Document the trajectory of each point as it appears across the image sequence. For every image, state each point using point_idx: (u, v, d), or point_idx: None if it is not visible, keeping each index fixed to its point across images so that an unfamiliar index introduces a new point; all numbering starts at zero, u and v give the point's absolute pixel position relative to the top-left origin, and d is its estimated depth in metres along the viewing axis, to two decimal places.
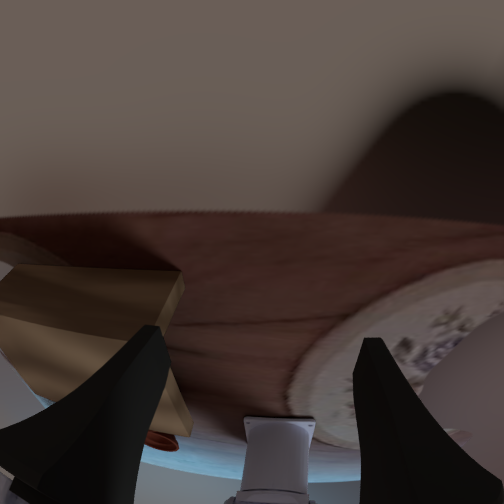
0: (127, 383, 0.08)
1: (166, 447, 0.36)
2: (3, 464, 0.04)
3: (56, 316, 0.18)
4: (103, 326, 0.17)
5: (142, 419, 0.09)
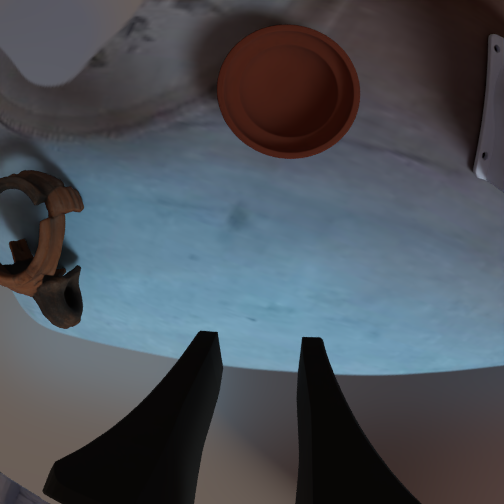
0: (193, 395, 0.08)
1: (301, 146, 0.14)
2: None
3: None
4: None
5: (201, 430, 0.09)
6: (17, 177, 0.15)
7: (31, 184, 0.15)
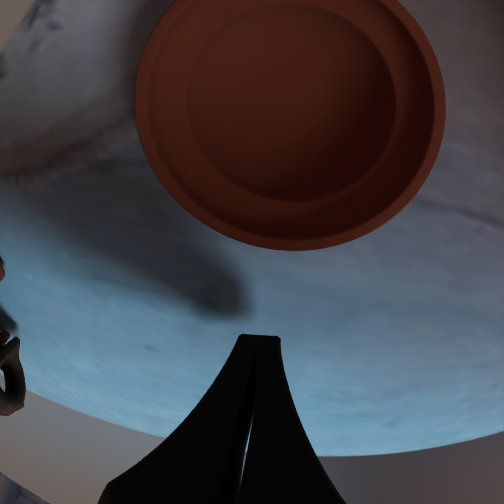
0: (244, 401, 0.08)
1: (315, 222, 0.07)
2: None
3: None
4: None
5: (245, 436, 0.09)
6: None
7: None
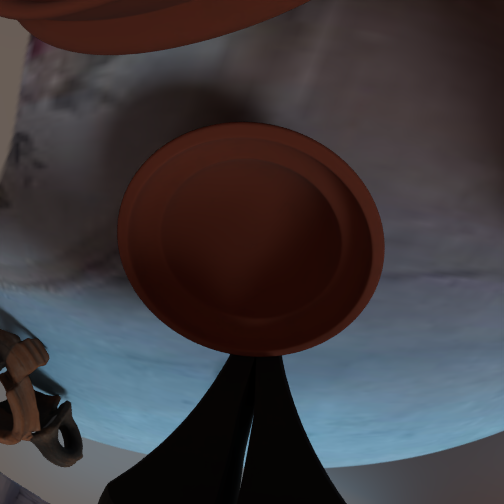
0: (244, 401, 0.08)
1: (287, 332, 0.09)
2: None
3: None
4: None
5: (245, 436, 0.09)
6: None
7: None
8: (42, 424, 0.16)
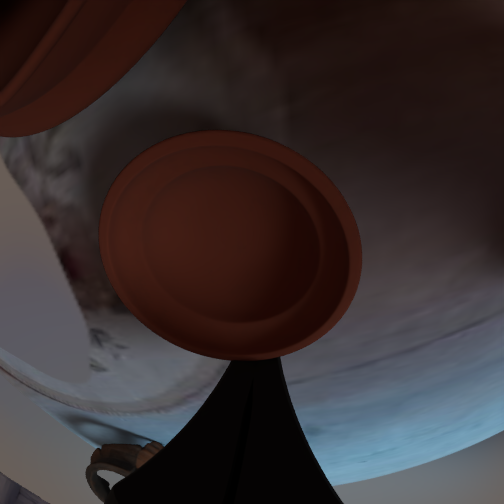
0: (249, 401, 0.08)
1: (298, 325, 0.08)
2: None
3: None
4: None
5: None
6: (103, 463, 0.18)
7: (117, 467, 0.17)
8: None
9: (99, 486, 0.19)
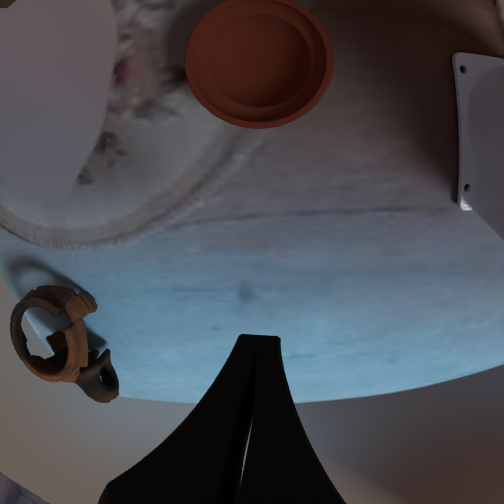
0: (244, 401, 0.08)
1: (284, 112, 0.13)
2: None
3: None
4: None
5: (245, 436, 0.09)
6: (35, 298, 0.20)
7: (48, 302, 0.20)
8: None
9: (19, 332, 0.20)
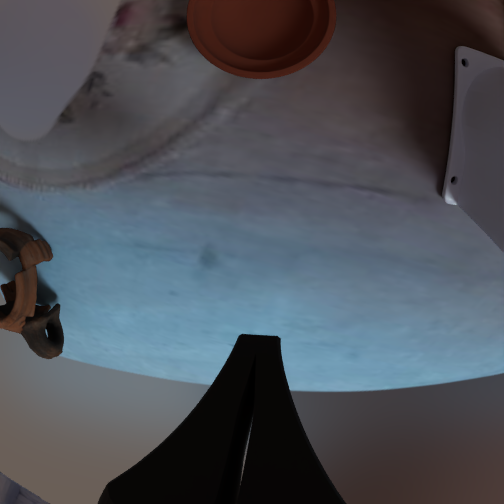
0: (244, 401, 0.08)
1: (278, 67, 0.12)
2: None
3: None
4: None
5: (245, 436, 0.09)
6: None
7: (4, 243, 0.17)
8: None
9: None
